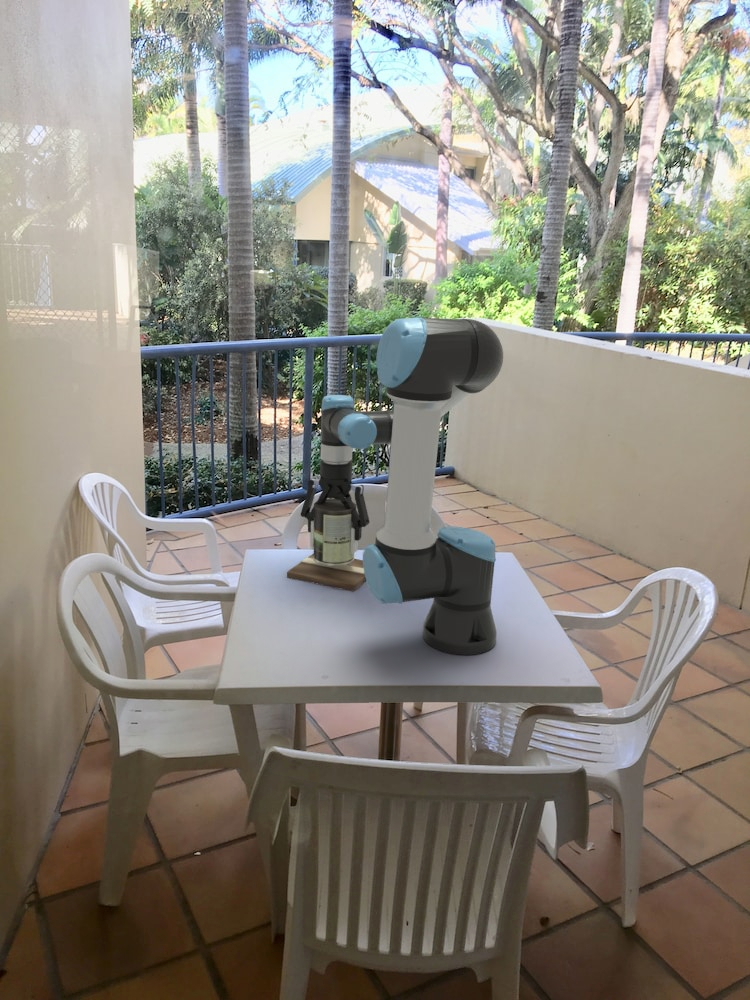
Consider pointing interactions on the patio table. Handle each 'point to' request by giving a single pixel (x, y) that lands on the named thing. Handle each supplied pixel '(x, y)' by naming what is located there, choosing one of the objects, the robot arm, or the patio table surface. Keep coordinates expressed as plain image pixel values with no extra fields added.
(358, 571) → the strip
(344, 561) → the coffee can
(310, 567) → the board
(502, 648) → the patio table surface
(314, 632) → the patio table surface
